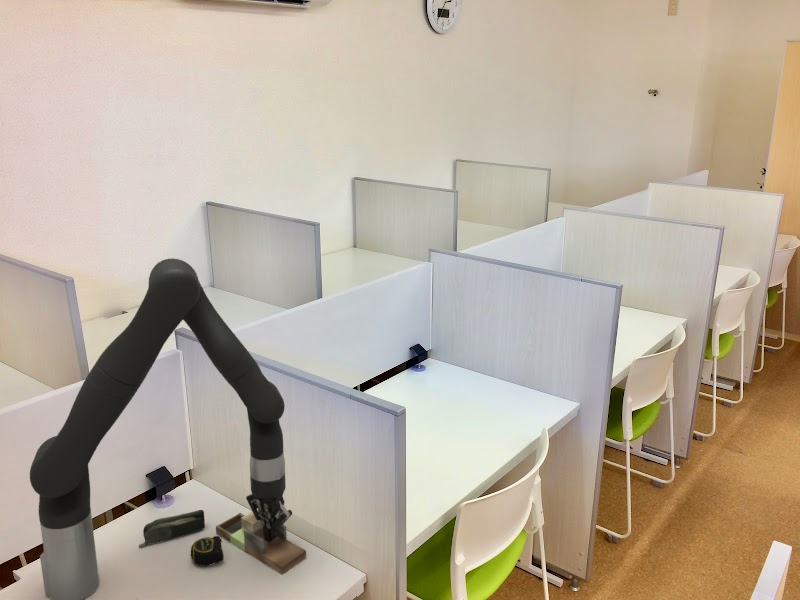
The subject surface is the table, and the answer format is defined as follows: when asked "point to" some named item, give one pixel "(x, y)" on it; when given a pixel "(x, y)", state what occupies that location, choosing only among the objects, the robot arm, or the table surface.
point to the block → (251, 524)
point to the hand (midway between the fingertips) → (270, 539)
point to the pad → (238, 539)
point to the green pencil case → (173, 527)
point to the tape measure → (207, 551)
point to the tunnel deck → (265, 545)
